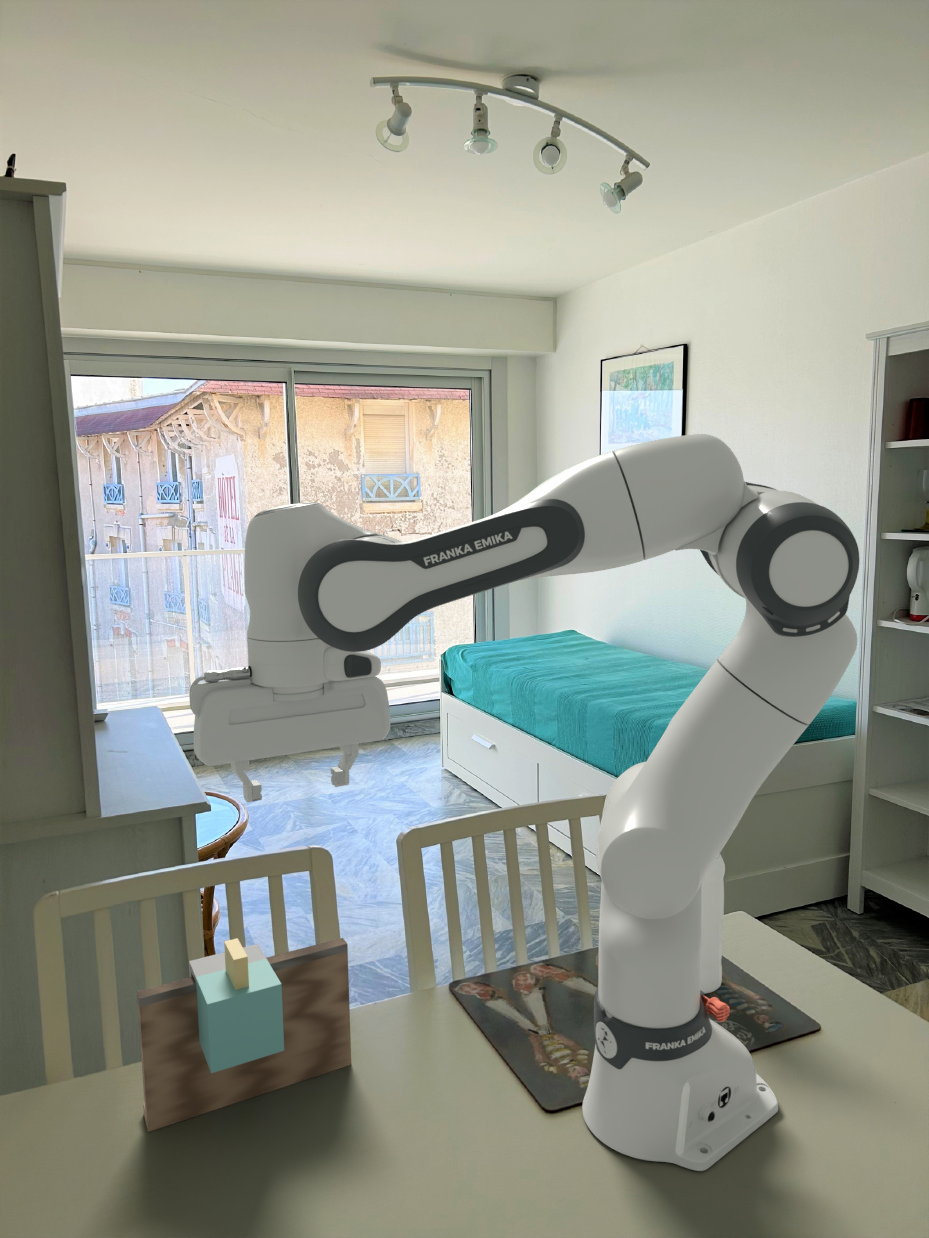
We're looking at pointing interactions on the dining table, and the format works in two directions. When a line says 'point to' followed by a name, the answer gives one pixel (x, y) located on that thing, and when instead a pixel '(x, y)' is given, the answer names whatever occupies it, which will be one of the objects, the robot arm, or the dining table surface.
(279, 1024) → the key box
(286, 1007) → the wall board
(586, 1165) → the dining table surface
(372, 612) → the robot arm
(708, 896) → the water bottle
